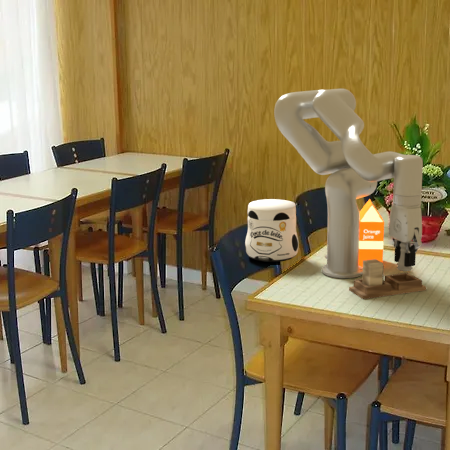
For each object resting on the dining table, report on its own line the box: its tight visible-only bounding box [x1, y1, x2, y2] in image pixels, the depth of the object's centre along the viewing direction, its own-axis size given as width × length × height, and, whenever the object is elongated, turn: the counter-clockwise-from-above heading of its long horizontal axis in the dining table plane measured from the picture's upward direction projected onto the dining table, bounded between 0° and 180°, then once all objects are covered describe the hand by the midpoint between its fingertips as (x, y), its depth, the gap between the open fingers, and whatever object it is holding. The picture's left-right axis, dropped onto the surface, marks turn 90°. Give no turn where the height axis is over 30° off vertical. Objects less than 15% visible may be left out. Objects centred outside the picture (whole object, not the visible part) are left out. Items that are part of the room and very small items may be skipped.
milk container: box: [244, 198, 300, 263], centre depth 234 cm, size 17×17×18 cm
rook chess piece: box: [396, 242, 414, 272], centre depth 203 cm, size 4×4×8 cm
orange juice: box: [359, 198, 385, 268], centre depth 226 cm, size 8×9×20 cm
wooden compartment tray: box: [348, 259, 427, 300], centre depth 203 cm, size 8×20×9 cm, turn 109°
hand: (404, 263), depth 204 cm, fingers closed on rook chess piece, 4 cm apart
